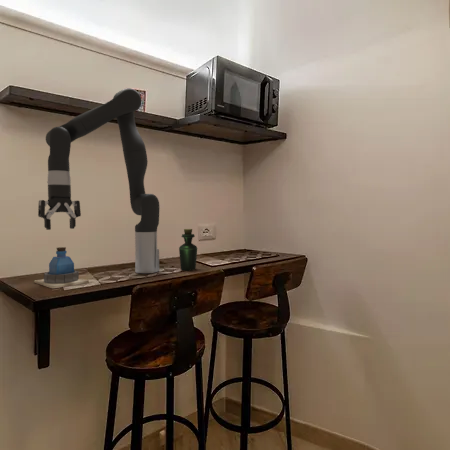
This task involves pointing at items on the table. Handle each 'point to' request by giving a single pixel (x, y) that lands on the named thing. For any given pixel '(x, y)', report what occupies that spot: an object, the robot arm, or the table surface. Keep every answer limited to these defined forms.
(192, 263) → the potion bottle
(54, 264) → the perfume bottle
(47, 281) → the hub board
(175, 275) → the table surface
